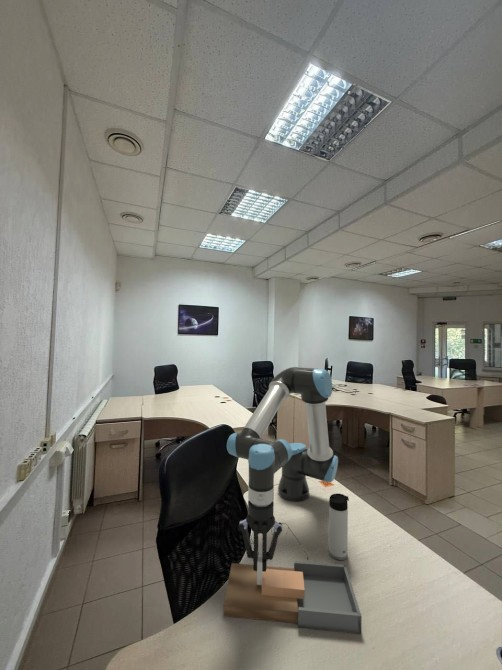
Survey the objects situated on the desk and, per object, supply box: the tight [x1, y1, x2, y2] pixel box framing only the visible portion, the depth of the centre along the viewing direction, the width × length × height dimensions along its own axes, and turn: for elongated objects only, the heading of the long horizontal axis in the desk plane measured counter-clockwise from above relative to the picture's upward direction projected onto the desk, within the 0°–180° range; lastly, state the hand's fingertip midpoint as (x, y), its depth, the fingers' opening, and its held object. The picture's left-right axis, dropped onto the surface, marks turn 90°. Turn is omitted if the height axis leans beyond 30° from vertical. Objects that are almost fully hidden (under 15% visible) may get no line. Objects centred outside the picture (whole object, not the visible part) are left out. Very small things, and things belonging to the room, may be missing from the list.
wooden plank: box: [223, 562, 298, 624], centre depth 81 cm, size 14×20×3 cm
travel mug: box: [328, 493, 350, 561], centre depth 97 cm, size 6×7×20 cm
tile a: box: [262, 569, 283, 597], centre depth 80 cm, size 6×6×2 cm
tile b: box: [283, 570, 305, 599], centre depth 80 cm, size 6×6×2 cm
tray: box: [293, 560, 362, 635], centre depth 79 cm, size 16×16×4 cm
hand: (259, 580), depth 81 cm, fingers closed
